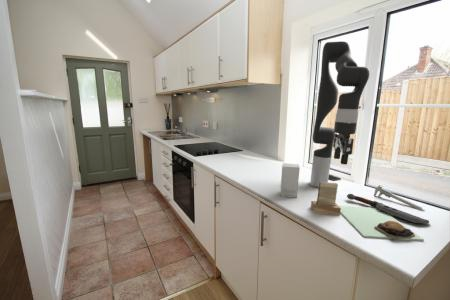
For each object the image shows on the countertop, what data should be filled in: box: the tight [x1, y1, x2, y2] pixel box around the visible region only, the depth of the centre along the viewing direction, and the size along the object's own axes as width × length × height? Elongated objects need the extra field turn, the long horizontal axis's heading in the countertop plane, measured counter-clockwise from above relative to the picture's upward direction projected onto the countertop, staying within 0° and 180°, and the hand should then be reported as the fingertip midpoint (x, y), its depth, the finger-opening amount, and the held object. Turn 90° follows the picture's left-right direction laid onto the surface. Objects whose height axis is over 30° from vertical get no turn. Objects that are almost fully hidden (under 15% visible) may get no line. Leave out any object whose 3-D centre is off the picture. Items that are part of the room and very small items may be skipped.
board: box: [316, 182, 339, 206], centre depth 95 cm, size 2×7×12 cm, turn 87°
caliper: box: [373, 185, 426, 212], centre depth 107 cm, size 20×1×6 cm, turn 35°
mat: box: [338, 205, 425, 242], centre depth 88 cm, size 24×20×1 cm
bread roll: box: [374, 221, 415, 240], centre depth 80 cm, size 11×8×4 cm
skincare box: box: [280, 162, 301, 199], centre depth 111 cm, size 8×7×16 cm
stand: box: [310, 200, 341, 216], centre depth 96 cm, size 6×10×3 cm, turn 87°
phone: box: [328, 173, 342, 182], centre depth 145 cm, size 8×1×15 cm
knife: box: [346, 193, 430, 225], centre depth 98 cm, size 9×2×30 cm
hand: (340, 161), depth 90 cm, fingers open, 8 cm apart
